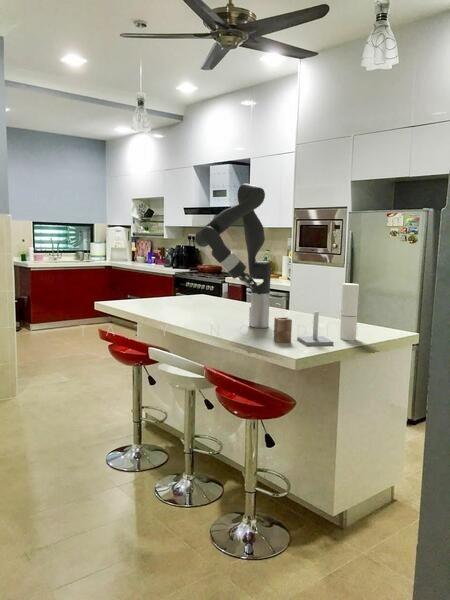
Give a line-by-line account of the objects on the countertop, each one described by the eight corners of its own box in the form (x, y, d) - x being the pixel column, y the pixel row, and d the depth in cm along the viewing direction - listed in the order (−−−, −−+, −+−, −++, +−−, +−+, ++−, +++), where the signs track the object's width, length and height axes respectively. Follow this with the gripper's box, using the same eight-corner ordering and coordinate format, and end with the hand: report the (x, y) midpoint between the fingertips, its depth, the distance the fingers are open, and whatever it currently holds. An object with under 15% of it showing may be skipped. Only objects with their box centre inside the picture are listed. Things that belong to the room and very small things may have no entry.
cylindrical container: (353, 337, 226) (356, 283, 222) (357, 340, 219) (361, 285, 215) (337, 337, 225) (340, 283, 222) (342, 340, 218) (345, 284, 215)
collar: (277, 342, 210) (278, 319, 209) (273, 339, 216) (274, 317, 215) (290, 342, 212) (291, 319, 210) (286, 339, 217) (287, 317, 216)
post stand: (306, 345, 205) (308, 314, 204) (297, 339, 217) (298, 309, 215) (333, 345, 208) (335, 314, 206) (322, 339, 219) (324, 309, 218)
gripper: (242, 259, 199) (268, 287, 202) (235, 258, 212) (260, 284, 216) (229, 272, 198) (256, 300, 202) (223, 270, 212) (248, 296, 216)
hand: (258, 292), depth 209 cm, fingers open, 8 cm apart
